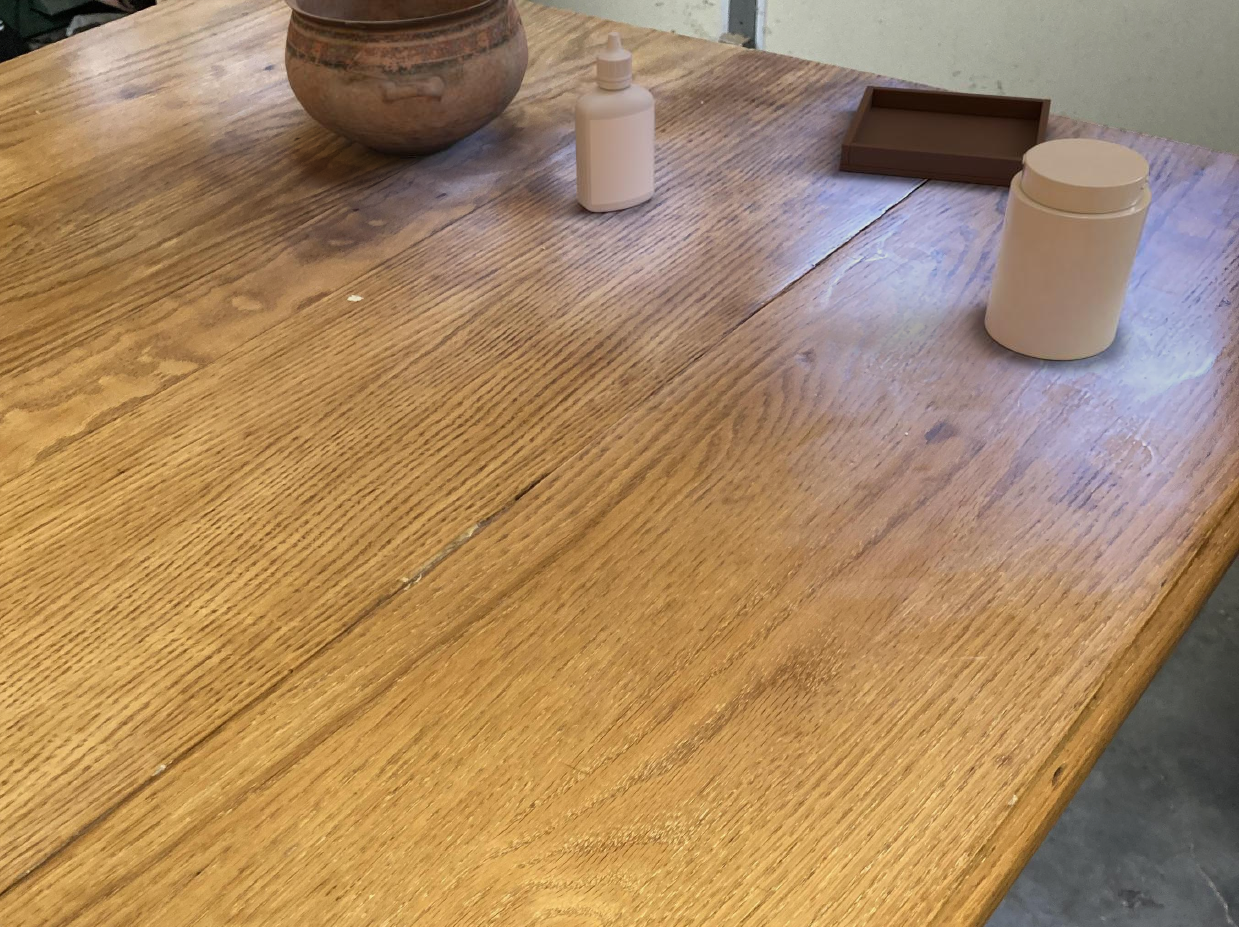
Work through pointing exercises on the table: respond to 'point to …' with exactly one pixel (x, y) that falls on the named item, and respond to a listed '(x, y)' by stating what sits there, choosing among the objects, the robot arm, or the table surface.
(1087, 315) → the jam jar
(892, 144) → the tray
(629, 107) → the eye dropper bottle
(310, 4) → the cooking pot
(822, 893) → the table surface
